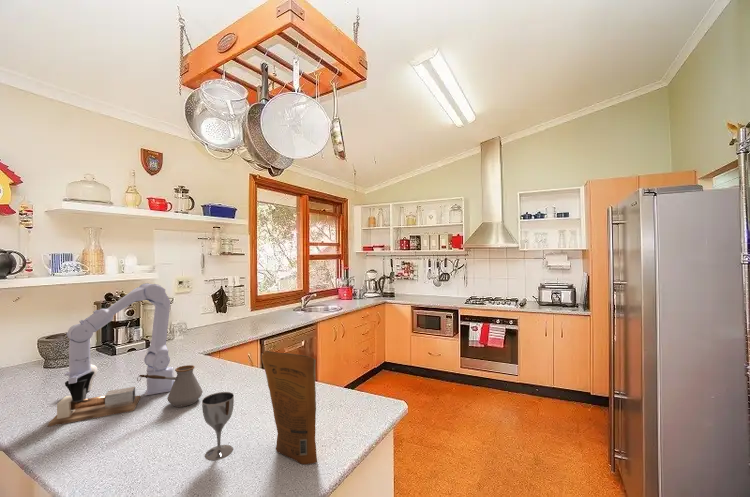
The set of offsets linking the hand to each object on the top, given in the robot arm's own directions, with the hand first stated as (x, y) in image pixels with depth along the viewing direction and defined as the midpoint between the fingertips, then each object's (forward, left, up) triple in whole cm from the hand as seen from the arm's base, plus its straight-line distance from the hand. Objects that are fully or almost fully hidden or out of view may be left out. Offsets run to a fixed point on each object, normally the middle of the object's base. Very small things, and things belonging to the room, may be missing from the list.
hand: (80, 397), depth 117 cm
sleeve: (-12, 0, -6) cm, 13 cm away
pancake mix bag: (-62, +60, -6) cm, 86 cm away
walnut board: (-5, 0, -6) cm, 8 cm away
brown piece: (-3, 0, -4) cm, 5 cm away
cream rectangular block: (+4, 0, -6) cm, 7 cm away
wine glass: (-44, +49, -6) cm, 66 cm away
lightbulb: (+4, -25, -6) cm, 26 cm away
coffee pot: (-28, +10, -6) cm, 31 cm away
